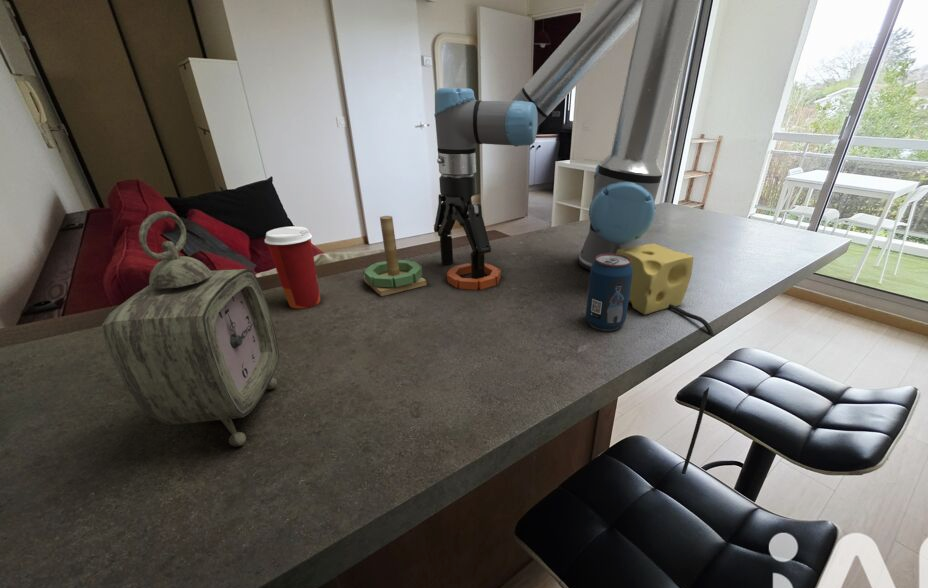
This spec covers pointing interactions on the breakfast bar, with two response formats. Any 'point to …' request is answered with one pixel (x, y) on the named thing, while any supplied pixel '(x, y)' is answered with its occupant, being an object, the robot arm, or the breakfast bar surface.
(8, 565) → the breakfast bar surface
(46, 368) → the breakfast bar surface
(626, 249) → the cheese
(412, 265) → the green ring
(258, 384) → the tabletop clock
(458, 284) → the terracotta ring
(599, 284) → the soda can
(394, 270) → the post stand
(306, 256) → the paper cup
